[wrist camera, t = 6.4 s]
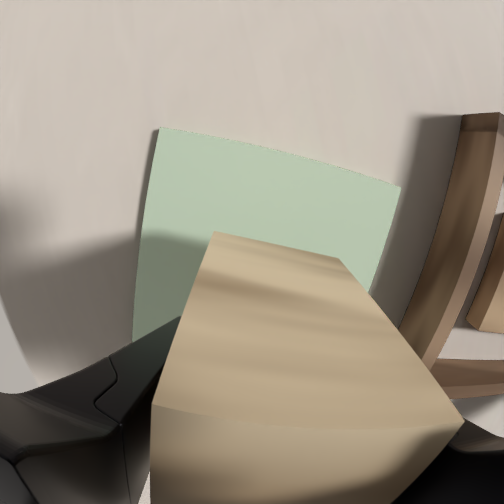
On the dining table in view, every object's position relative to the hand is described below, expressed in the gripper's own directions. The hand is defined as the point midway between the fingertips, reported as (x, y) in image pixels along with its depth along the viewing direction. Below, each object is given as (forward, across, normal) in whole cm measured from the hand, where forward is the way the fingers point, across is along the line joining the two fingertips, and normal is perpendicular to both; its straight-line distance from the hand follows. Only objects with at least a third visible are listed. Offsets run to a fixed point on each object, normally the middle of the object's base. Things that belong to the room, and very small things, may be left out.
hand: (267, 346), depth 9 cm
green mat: (+6, 0, 0) cm, 6 cm away
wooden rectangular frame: (+6, -17, -3) cm, 18 cm away
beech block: (+3, 0, 0) cm, 3 cm away
